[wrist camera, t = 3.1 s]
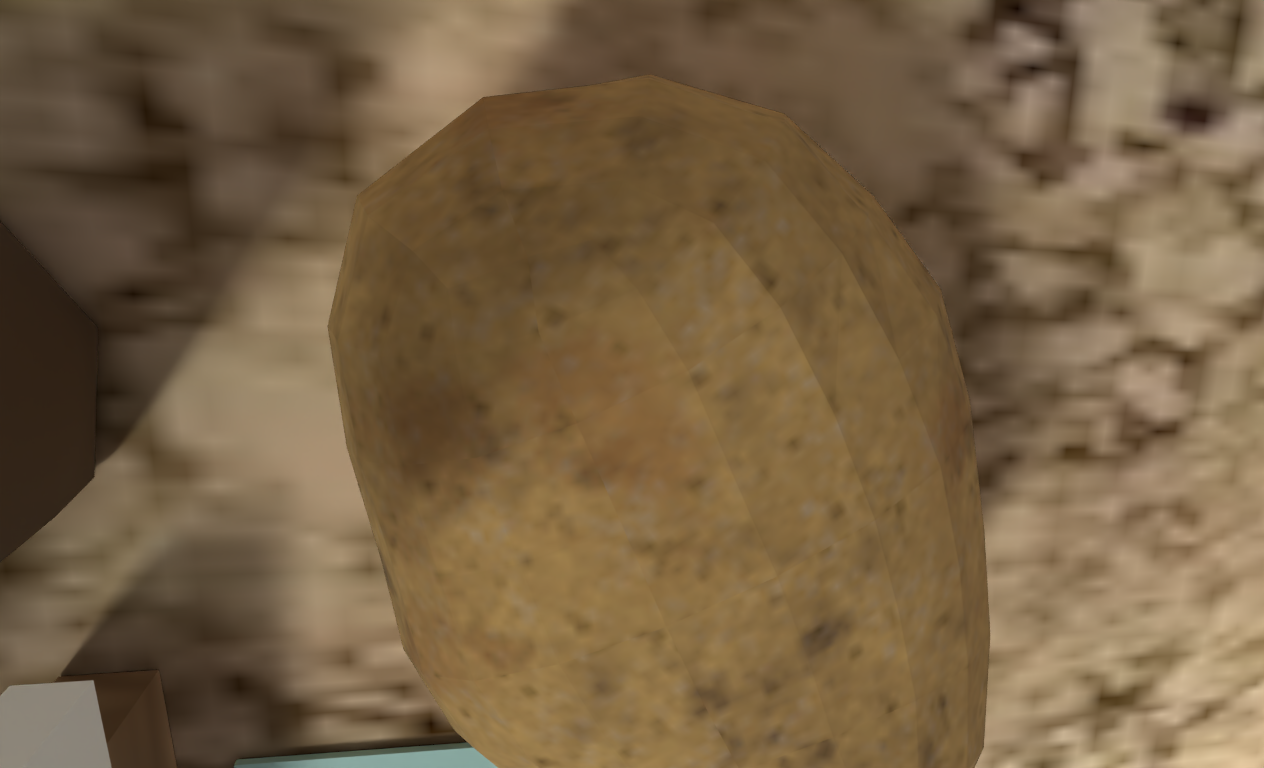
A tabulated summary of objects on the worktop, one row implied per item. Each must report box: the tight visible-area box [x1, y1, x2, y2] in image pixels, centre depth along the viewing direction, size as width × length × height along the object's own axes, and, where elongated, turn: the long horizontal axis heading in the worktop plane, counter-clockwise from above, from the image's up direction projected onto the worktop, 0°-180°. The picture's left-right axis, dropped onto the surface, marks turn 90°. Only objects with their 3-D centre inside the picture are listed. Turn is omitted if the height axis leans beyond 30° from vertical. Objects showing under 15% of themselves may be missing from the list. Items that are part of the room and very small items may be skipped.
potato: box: [328, 74, 990, 768], centre depth 16 cm, size 10×14×8 cm
